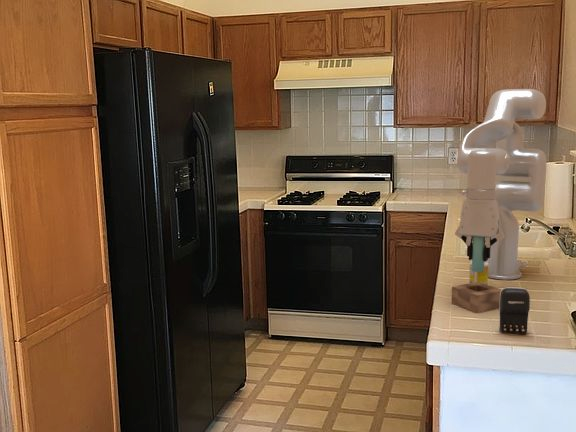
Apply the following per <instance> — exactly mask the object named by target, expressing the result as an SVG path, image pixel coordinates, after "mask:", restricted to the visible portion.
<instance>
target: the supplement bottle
mask: <svg viewBox="0 0 576 432" xmlns="http://www.w3.org/2000/svg"><path fill="white" fill-rule="evenodd" d="M468 279H469V283H475V282H480V283H483V284H486V285H489V277H488V262H487V261H486V262H484V272H474V271H472V260H470V262H469V278H468ZM469 283H468V284H469Z"/></svg>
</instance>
